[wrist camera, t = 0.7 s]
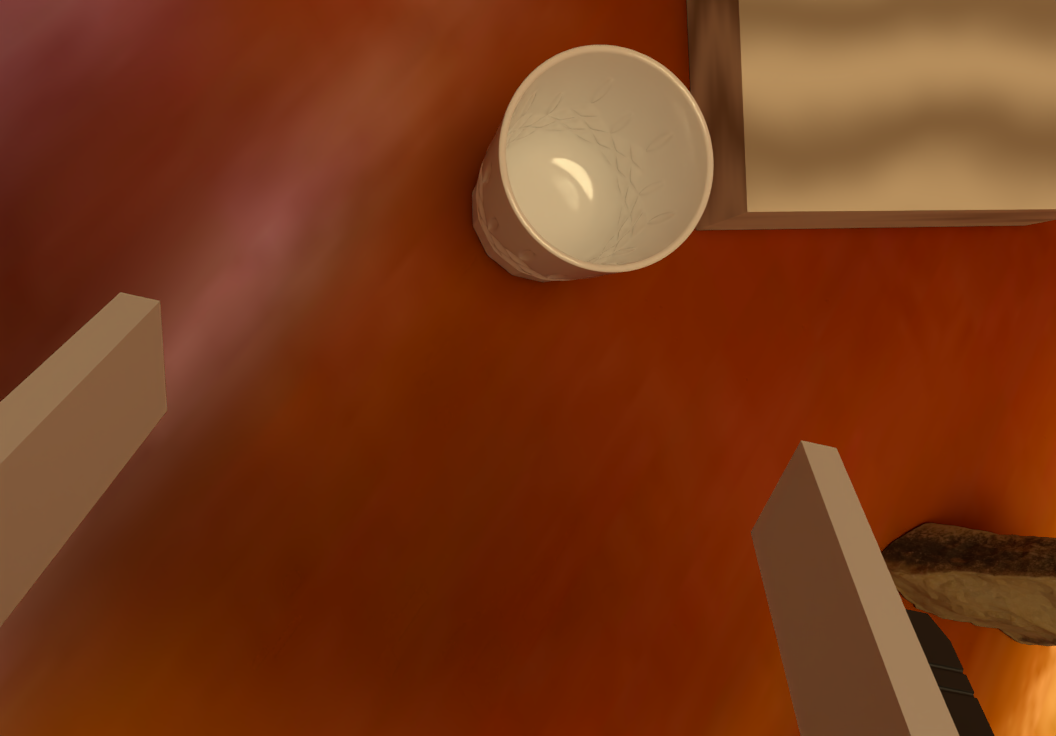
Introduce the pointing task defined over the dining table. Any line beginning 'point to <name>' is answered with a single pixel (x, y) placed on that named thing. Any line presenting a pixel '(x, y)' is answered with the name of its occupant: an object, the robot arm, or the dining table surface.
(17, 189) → the dining table surface
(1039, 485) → the dining table surface
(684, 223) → the white cup
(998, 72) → the birch plinth
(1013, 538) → the rock
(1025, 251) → the dining table surface
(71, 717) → the dining table surface
